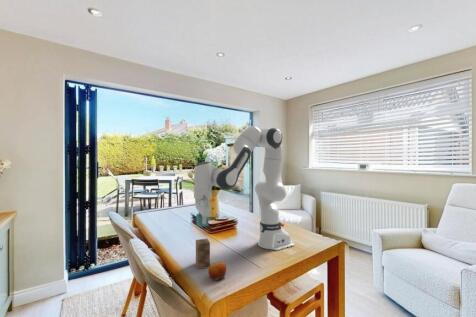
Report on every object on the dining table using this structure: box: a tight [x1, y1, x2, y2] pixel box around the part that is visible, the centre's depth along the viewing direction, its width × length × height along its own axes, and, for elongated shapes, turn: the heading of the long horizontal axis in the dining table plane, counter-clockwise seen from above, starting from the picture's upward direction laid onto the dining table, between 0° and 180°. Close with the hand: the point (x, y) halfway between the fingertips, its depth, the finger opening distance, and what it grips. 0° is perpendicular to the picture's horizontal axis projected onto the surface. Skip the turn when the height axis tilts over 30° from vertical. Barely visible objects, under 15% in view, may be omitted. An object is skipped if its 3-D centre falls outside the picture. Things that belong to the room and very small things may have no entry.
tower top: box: [195, 238, 211, 256], centre depth 115 cm, size 6×6×6 cm
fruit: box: [208, 261, 227, 282], centre depth 103 cm, size 8×8×8 cm
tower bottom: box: [195, 252, 211, 270], centre depth 115 cm, size 6×6×6 cm
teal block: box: [196, 213, 209, 228], centre depth 115 cm, size 5×5×5 cm
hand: (202, 221), depth 115 cm, fingers closed on teal block, 5 cm apart
